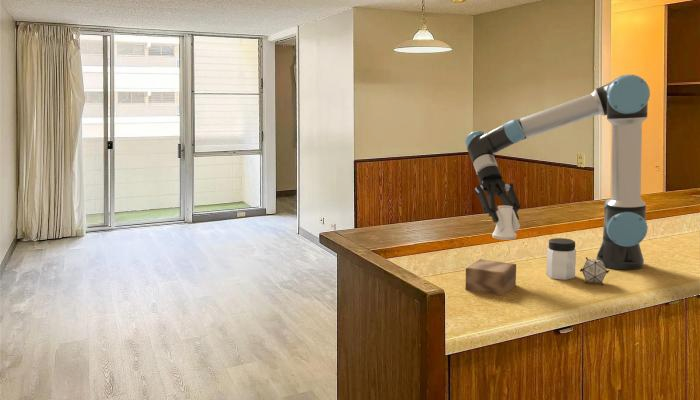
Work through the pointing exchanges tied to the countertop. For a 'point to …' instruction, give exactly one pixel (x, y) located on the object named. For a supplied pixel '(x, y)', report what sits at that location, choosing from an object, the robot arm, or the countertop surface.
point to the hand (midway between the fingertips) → (510, 229)
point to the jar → (561, 259)
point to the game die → (594, 270)
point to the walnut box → (491, 277)
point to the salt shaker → (505, 224)
